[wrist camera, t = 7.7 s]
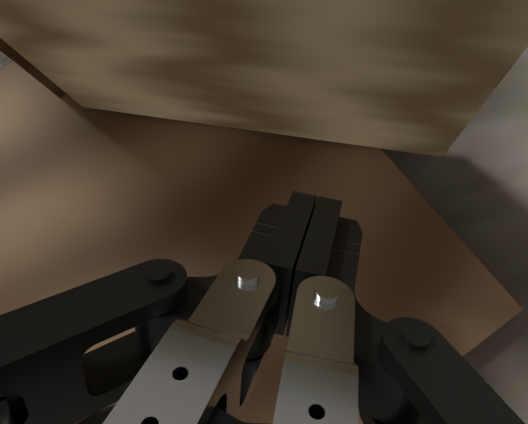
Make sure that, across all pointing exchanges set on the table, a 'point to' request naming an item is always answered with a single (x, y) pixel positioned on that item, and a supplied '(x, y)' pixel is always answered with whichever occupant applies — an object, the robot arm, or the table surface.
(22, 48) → the gate leaf
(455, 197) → the table surface
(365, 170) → the gate base
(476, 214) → the table surface
